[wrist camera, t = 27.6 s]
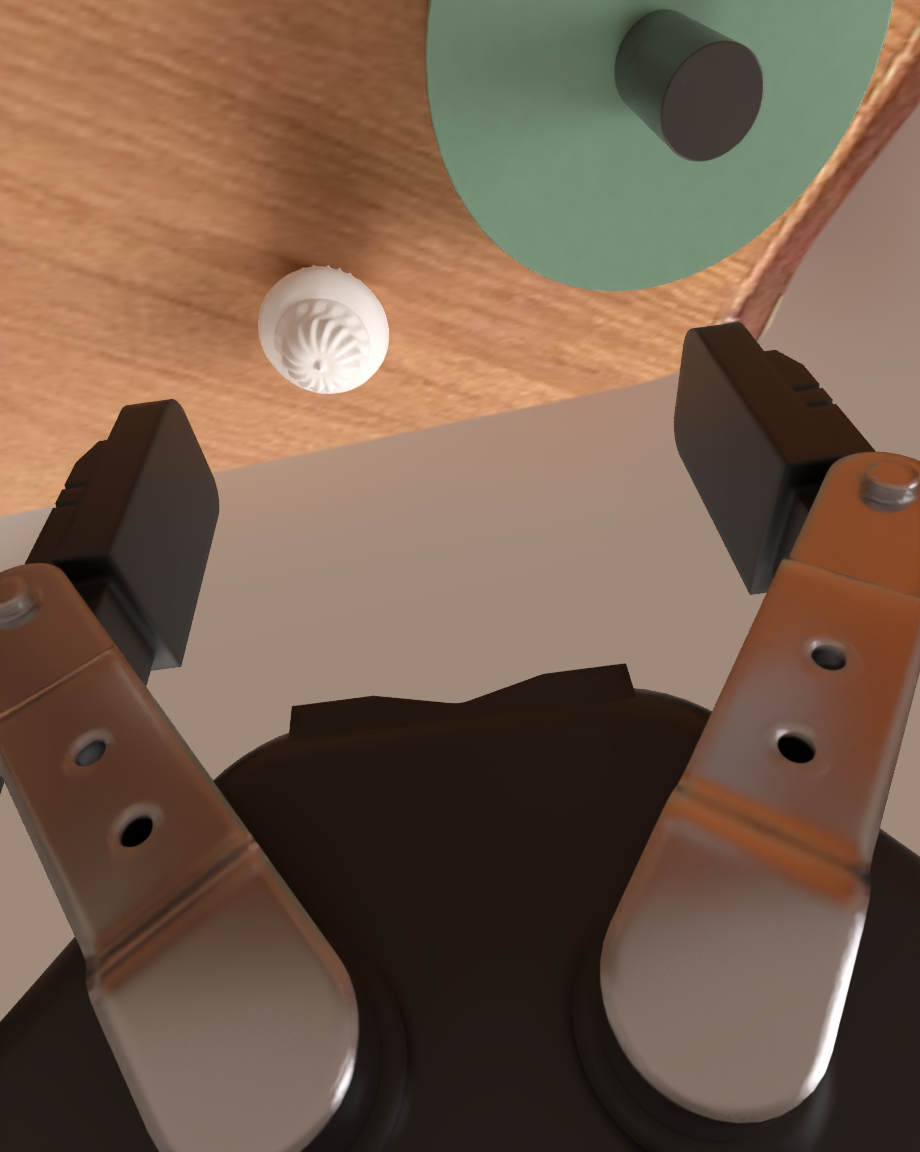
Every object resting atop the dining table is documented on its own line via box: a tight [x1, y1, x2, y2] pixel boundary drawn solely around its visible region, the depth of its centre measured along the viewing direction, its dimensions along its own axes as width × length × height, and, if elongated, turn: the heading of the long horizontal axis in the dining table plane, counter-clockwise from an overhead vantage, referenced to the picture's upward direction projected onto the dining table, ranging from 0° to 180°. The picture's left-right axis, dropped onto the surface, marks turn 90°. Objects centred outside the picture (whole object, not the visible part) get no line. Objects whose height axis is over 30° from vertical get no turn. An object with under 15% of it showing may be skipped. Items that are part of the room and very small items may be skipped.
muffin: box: [258, 265, 389, 394], centre depth 34 cm, size 6×6×7 cm
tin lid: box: [425, 0, 894, 291], centre depth 23 cm, size 16×16×7 cm
